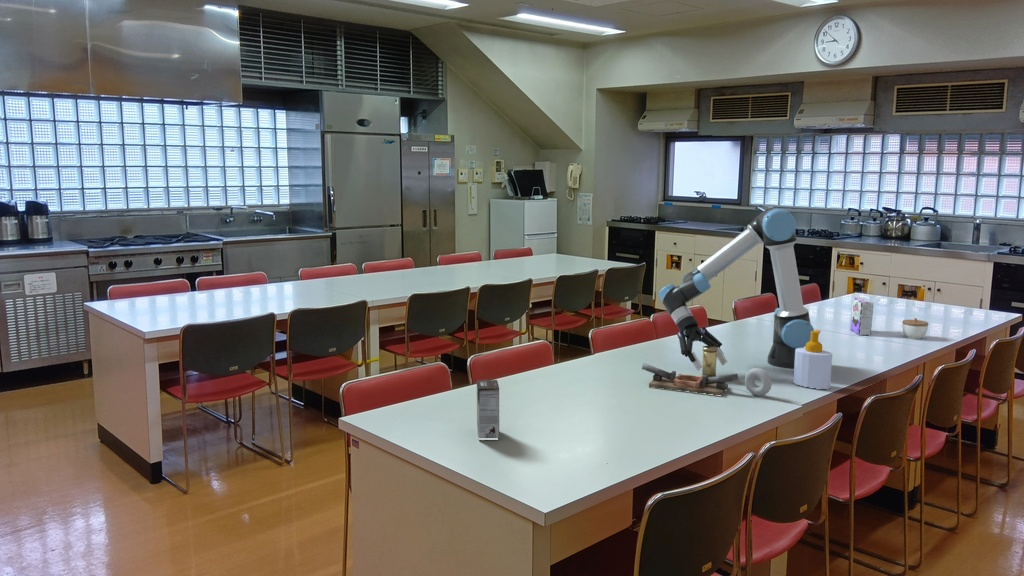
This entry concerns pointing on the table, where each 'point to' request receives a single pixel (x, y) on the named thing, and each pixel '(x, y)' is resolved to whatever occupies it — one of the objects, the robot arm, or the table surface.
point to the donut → (764, 379)
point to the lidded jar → (914, 328)
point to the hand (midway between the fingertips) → (712, 366)
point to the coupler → (709, 361)
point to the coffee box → (488, 408)
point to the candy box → (861, 316)
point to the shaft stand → (689, 381)
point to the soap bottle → (813, 364)
